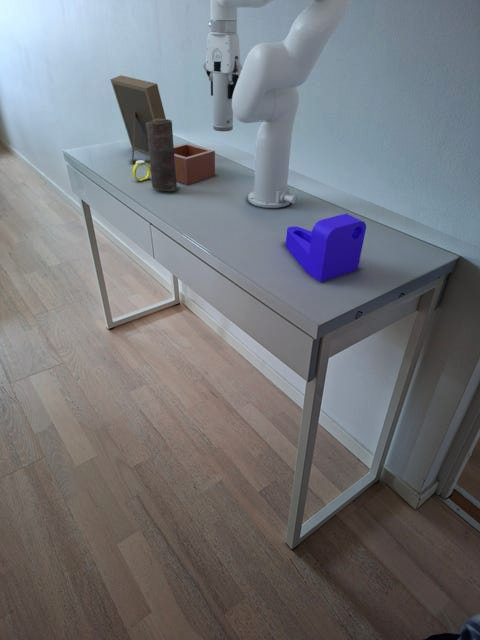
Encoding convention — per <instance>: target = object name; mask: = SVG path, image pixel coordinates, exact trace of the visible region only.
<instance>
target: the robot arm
mask: <svg viewBox="0 0 480 640" xmlns="http://www.w3.org/2000/svg"><path fill="white" fill-rule="evenodd" d="M271 2H273V0H209V4H210V5H209V6H210V9H209V10H210V14H209V15H210V18H209V19H210V22H209V23H208V27H209V28H210V32H208V35H207V38H206V39H207V40H206V49H205V50H206V51H205V62H204V64H203V65H202V67H203V70H204V71H205V73H206V75H207V77H208V81H209V82H210V96H211V97H213V71H214V62H221V68H220V69H221V72H222V73H223V74H227V75H228V79H229V83H230V84H228V99H232V110H233V117H235V119H236V120H238V121H239V122H240V123H244V124H252V123H253V124H254V123H261V124H260V125H259V128H258V130H257V134H256V136H255V137H256V138H255V152H254V153H255V154H254V177H253V191H251V192H250V193H249V194H248V196H247V200H248V202H249V203H250V204H251V205H253V206H256V207H259V208H264V209H279V208H284V207H287V206H288V205H290V204H292V205H294V204H295V203H296V201H297V198H298V195H297V194H296V193H293V192H291V186H288V180H289V169H290V168H289V167H290V157H291V148H292V147H291V146H292V136H293V130H294V124H295V119H296V116H297V115H296V114H297V111H298V108H299V102H300V94H299V90H298V88H297V87H300V86H302V85H303V84H305V82H306V81H307V80H308V78H309V76H310V74H311V72H312V70H313V69H314V67H315V65H316V64H317V62H318V60H319V58H320V57H321V55H322V53H323V51H324V49H325V47H326V45H327V43H328V41H329V40H330V38H331V37H332V35H333V34H334V32H335V30H336V29H337V28H338V27H339V26H340V24H341V22H342V21H343V19H344V18H345V17H346V15H347V12H348V10H349V9H350V6H351V3H352V0H313V1H312V2H311V3H310V4H309V5H308V6H307V7H305V8H304V9H303V11H301V12H300V14H298V16H297V17H296V18H295V20H294V21H293V23H292V25H291V27H290V30H289V32H288V34H287V35H286V37H285V38H284V39H283V40H281V41H272V42H270V41H269V42H261V43H258V44H255V45H254V46H253V47H252V48H251V49H250V51H249V52H248V54H247V55H246V57H245V60H244V63H243V65H242V64H241V48H240V47H241V46H240V38H239V34H237V33H238V31H237V28H238V24H237V23H238V21H237V20H238V8H253V9H254V8H255V9H256V8H261V7H264V6H266V5H268V4H270V3H271ZM232 75H233V78H232Z"/></svg>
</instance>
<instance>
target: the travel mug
mask: <svg viewBox="0 0 480 640" xmlns="http://www.w3.org/2000/svg"><path fill="white" fill-rule="evenodd" d="M220 68H221V62H214V71H213V96H212V119H213V120H212V123H213V124H212V129H213V130H214V131H217V132H230V131H233V128H234V126H233V125H234V124H233V123H234V114H233V110H232V99H228V84H230V83H229V79H228V75H227V74H223V73H222V72H221V69H220ZM232 78H233V75H232Z"/></svg>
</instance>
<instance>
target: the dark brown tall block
mask: <svg viewBox="0 0 480 640" xmlns="http://www.w3.org/2000/svg"><path fill="white" fill-rule="evenodd" d="M172 121H173V120H171V119H168V118H166V119H159V118H158V119H155V120H154V121H150V122H146V127H147V137H148V146H149V155H148V158H149V166H150V170H151V172H150V177H151V178H150V179H151V187H152V188H153V189H154V190H157V191H163V192H164V191H165V192H176V191H177V190H178V184H177V183H178V182H177V181H176V170H175V158H174V132H173V122H172Z"/></svg>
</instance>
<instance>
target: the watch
mask: <svg viewBox="0 0 480 640" xmlns="http://www.w3.org/2000/svg"><path fill="white" fill-rule="evenodd" d="M143 165H145V167H146V170H147V171H146V172H147V173H146V175H145V176H144V177H142V178H138V177H137V175H136V172H137V169H138V167H139V166H143ZM131 172H132V173H131V174H132V177H133V179H134V180H136V181H137V182H143V181H146V180H148V179H149V178H150V177H151V168H150V164H149V163H147V162H145V160H143V159H139V160H136V161H135V164H134V165H133V166H132V169H131Z"/></svg>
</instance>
